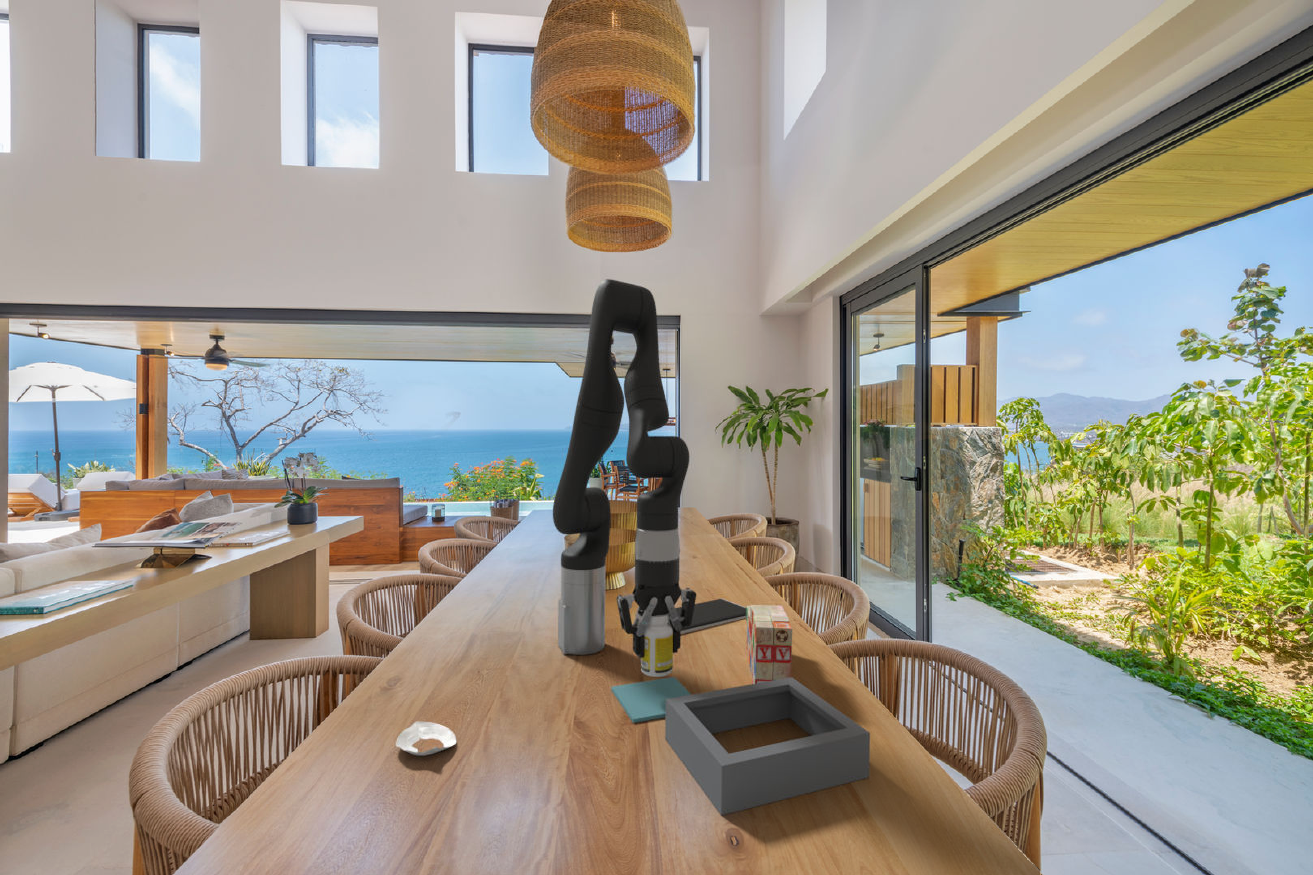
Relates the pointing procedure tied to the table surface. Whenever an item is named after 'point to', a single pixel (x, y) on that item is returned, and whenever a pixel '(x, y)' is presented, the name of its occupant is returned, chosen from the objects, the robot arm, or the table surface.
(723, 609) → the smartphone
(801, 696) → the box
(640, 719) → the mat
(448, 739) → the white seashell fragment
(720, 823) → the table surface
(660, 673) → the supplement bottle
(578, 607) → the robot arm
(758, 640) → the stack of blocks
